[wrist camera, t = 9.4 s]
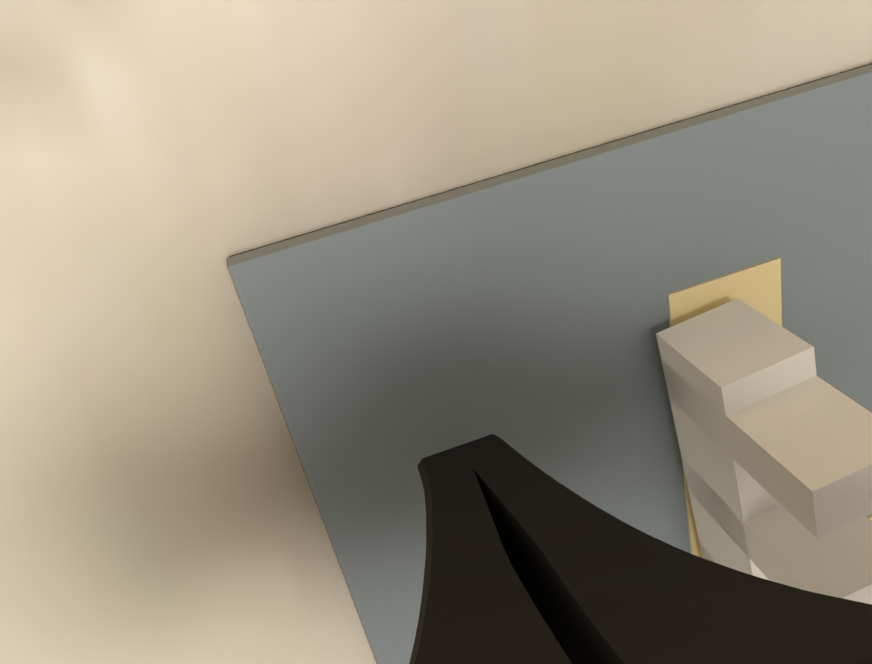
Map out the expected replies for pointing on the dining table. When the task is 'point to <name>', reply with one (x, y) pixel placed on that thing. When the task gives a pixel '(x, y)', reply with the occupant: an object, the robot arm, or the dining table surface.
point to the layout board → (558, 319)
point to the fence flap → (770, 453)
